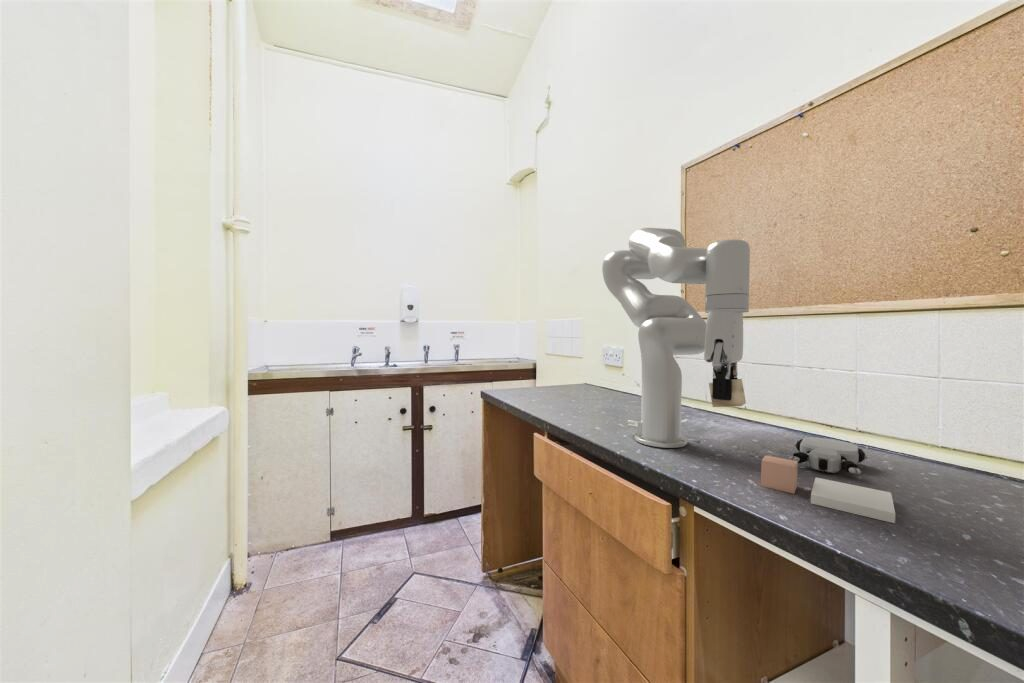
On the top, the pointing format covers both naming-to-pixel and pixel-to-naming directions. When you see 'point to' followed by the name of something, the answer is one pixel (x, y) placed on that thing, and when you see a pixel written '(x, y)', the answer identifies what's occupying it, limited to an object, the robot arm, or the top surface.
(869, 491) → the base plate
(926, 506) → the top surface
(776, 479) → the clay brick
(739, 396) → the beech brick
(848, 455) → the robot toy
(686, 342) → the robot arm
